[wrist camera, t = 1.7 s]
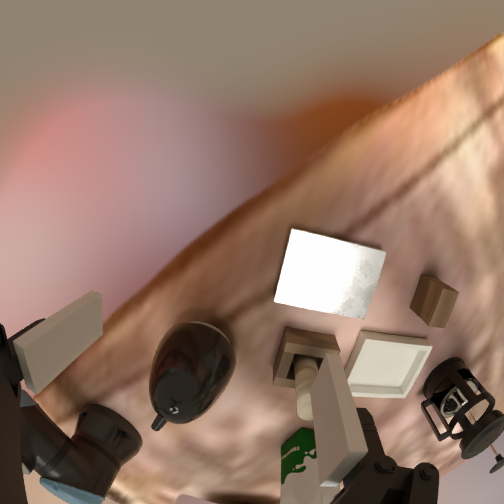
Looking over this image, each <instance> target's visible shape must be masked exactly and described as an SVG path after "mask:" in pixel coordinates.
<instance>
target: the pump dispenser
mask: <svg viewBox="0 0 504 504" xmlns="http://www.w3.org/2000/svg"><path fill="white" fill-rule="evenodd" d="M235 365H236V357H235V353H234V350H233V348H232V346H231V344H230V342H229V340H228V338H227V337H226V336H225V334H224V333H223V332H222V331H220V330H219V329H218V328H216V327H215V326H213V325H211V324H208V323H205V322H199V321H192V322H186V323H182V324H178V325H176V326H174V327H172V328H171V329H169V330H168V331H167V332H166V334H165V335H164V336H163V338H162V339H161V341H160V343H159V345H158V348H157V350H156V353H155V356H154V359H153V363H152V367H151V372H150V379H149V394H150V400H151V403H152V406H153V408H154V410H155V411H156V413H157V414H158V415H157V417H156V418H155V420H154V422H153V423H152V425H151V427H152V429H153V430H155V431H159V430H160V429H161V428H162V427H163V426H164V425H165V424H166V423H167V421H168V422H171V423H174V424H185V423H189V422H192V421H194V420H196V419H197V418H199V417H201V416H202V415H203V414H205V413H206V412H207V411H208V410H209V409H210V408H211V407H212V406H213V405H214V403H215V402H216V401H217V400H218V399H219V397H220V396H221V395H222V393H223V392H224V390H225V389H226V387H227V385H228V383H229V382H230V380H231V378H232V375H233V373H234V369H235Z"/></svg>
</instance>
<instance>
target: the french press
mask: <svg viewBox="0 0 504 504" xmlns="http://www.w3.org/2000/svg"><path fill="white" fill-rule="evenodd" d="M457 370H460V372H459V373H458V372H457ZM446 377H449V378H450V379H451V380H452V382H453V383H454V384H453V385H452V386H451V387H450V388H449V389H448V390H447V391H445V392H443V393H441V394H434V392H435V390H436V389H437V387H438V386H439V385H440V383H441V382H442V381H443V380H444V379H445V378H446ZM477 390H479V391H480V392H481V394H479V395H476V393H477ZM423 393H424V396H425V397H426V398H427V400H425V401H423V402H422V403H421V409H422V411H423V413H424V415H425V416H426V418H427V420H428V422H429V424H430V426H431V427H432V429H433V431H434V433H435V435H436V437H437V439H438V440H439V441H442V440H444V439H446V438H447V437H449V436H450V437H451V438H452V439H454V440H457V439H461V438H462V440H461V442H460V444H459V447H460V448H461V450H462V453H461V457H462V458H463V459H469V458H472V457H474V456H476V455H477V454H479V453H481V452H482V451H484V450H485V449H486V448H487V447H488V446H490V447H491V448H492V450H493V451H494V453H495V455H496V458H495V459H496V461H497V464H496V465H495V466H494V467H493V468H492V469H491V470H490V473H493V472H495V471H497V470H498V469H500V468H501V467H502V466H503V465H504V457H502V456H501V454H499V455H498V453H497V452H496V450H495V449H494V447H493V446H492V443H493V442H494V441H495V440H496V439H497V438H498V437H499V436H500V434H501V433H502V432H503V431H504V414H503V413H502V412H500V411H499V410H494V411H492V410H493V408H494V405H495V399H494V397H493V396H492V395H491V394H490V393H488V392H487V391H486V390H485V388H484V387H483V386H482V385H481V384H480V383H479V381H478V380H477V379H476V378H475V377H474V376H473V375H472V374H471V371H470V370H469V369H468V368H467V367H466V366H465V364H464V362H463V360H462V359H460V358H450V359H448V360H446V361H444V362H442V363H441V364H439V365H438V366H437V367H436V368H435V369H434V370H433V371H432V372H431V373H430V375H429V376H428V378H427V379H426V381H425V384H424V387H423ZM484 399H486V400H487V401H488V402H489V403H490V404H489V406H488V408H487V409H486V411H485V412H484V414H483V415H482V416H481V417H480V418H479V419H478V420H477V421H476V420H475V419H474V417H473V416H472V414H471V413H470V411H469V409H471V408H472V407H473V406H474V405H476V404H477V403H479V402H480V401H482V400H484ZM429 405H432V406H433V408H434V409H435V411H436V413H437V414H438V416H439V418H440V420H441V421H442V423H443V425H444V426H445V428H446V430H447V431H446V432H445V433H443V434H440V433H439V431H438V429H437V427H436V426H435V424H434V422H433V420H432V419H431V417H430V415H429V413H428V412H427V410H426V408H425V407H427V406H429ZM466 412H468V414H469V415H470V417H471V418H472V420H473V421H474V422H475V423H474V424H473V425H472V424H471V423H470V421H469V420H468V418H467V417H466V415H465V413H466ZM452 416H454V417H453V418H452V420H451V421H450V423H449V425H448V423H447V421H446V420H445V418H448V417H452ZM457 422H459V424H460V426H461V427H462V429H463V430H464V431H462V432H460V433H457V434H452V430H453V428H454V426H455V425H456V423H457Z"/></svg>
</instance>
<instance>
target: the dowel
mask: <svg viewBox="0 0 504 504" xmlns="http://www.w3.org/2000/svg"><path fill="white" fill-rule="evenodd" d="M293 361H294V374H295V386H296V400H297V414H298V416H299V417H300V418H301V419H303V420H313V414H312V406H311V397H310V389H311V387H312V385H313V382H314V380H315V378H316V376H317V373H318V367H317V362H316V358H315V357H313V356H307V355H301V354H294V357H293Z"/></svg>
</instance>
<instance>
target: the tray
mask: <svg viewBox="0 0 504 504" xmlns="http://www.w3.org/2000/svg"><path fill="white" fill-rule="evenodd" d="M432 347H433V346H432V345H431V344H430V343H429V342H428V341H427V339H423V338H415V337H407V336H399V335H391V334H384V333H377V332H370V331H364V330H361V331H360V334H359V336H358V339H357V341H356V343H355V346H354V348H353V351H352V353H351V355H350V358H349V360H348V362H347V365H346V367H345V369H344V371H345V375H346V378H347V381H348V384H349V387H350V390H351V394H352V396H358V397H378V398H405V397H406V395H407V394H408V392H409V390H410V389H411V387H412V385H413V383H414V382H415V380H416V378H417V376H418V375H419V373H420V371H421V369H422V367H423V365H424V363H425V361H426V359H427V357H428V355H429V353H430V351H431V349H432Z"/></svg>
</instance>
